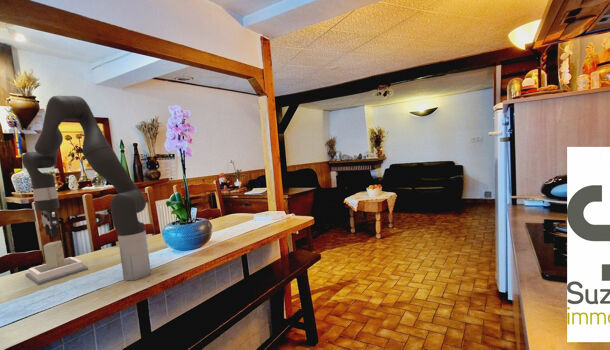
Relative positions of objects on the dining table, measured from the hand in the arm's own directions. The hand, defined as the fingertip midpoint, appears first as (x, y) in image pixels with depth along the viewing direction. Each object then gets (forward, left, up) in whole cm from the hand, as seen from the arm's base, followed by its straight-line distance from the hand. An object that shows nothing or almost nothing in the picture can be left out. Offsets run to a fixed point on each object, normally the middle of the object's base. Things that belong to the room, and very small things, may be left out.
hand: (52, 235), depth 119 cm
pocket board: (0, 0, -16) cm, 16 cm away
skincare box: (0, 0, -16) cm, 16 cm away
